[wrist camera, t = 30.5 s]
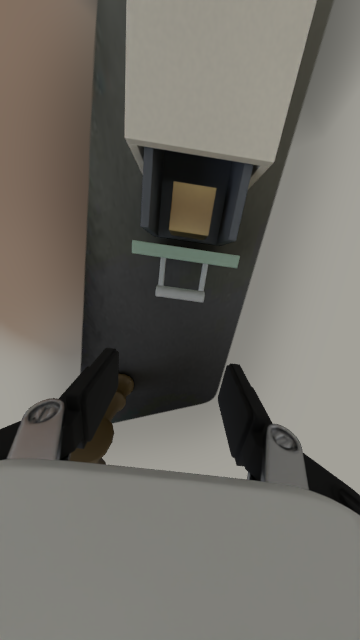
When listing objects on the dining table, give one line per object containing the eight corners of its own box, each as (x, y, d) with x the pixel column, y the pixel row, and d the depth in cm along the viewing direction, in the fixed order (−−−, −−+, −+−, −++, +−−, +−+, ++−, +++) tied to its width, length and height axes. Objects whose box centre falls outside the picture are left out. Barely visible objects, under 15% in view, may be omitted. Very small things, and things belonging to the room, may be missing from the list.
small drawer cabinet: (237, 201, 22) (274, 162, 13) (148, 186, 22) (124, 137, 13) (271, 43, 17) (366, -185, 8) (157, 21, 17) (129, -241, 8)
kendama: (104, 396, 35) (12, 557, 16) (111, 358, 31) (5, 506, 13) (132, 403, 35) (74, 567, 17) (142, 366, 32) (83, 520, 13)
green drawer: (214, 296, 26) (226, 311, 19) (145, 286, 26) (130, 298, 18) (244, 152, 20) (281, 90, 13) (154, 137, 20) (137, 65, 12)
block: (175, 196, 21) (173, 180, 17) (210, 201, 21) (216, 187, 17) (171, 235, 22) (168, 230, 18) (203, 240, 22) (208, 236, 18)
